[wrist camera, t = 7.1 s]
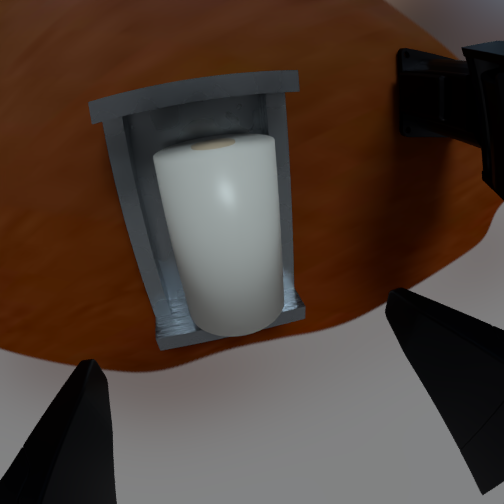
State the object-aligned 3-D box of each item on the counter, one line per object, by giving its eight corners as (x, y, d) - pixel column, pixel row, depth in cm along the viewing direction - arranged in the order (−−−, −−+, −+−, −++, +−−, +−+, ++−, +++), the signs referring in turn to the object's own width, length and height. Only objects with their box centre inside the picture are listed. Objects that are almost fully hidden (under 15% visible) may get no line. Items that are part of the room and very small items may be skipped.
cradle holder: (268, 74, 16) (297, 70, 12) (282, 278, 23) (305, 318, 19) (108, 99, 14) (88, 102, 10) (159, 304, 21) (160, 350, 18)
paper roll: (139, 151, 14) (179, 166, 10) (233, 129, 17) (300, 138, 13) (175, 299, 19) (219, 353, 15) (249, 266, 21) (304, 306, 17)
